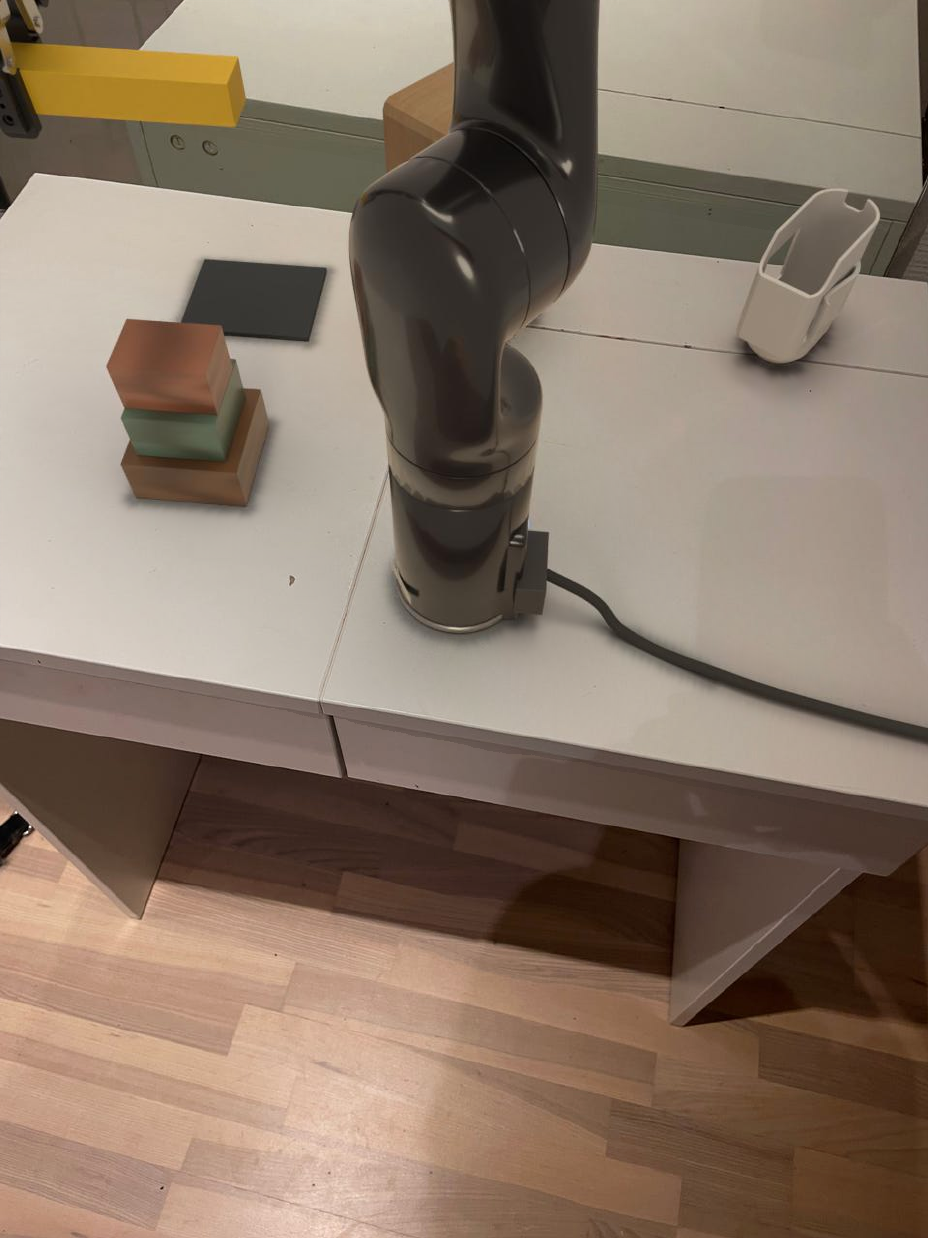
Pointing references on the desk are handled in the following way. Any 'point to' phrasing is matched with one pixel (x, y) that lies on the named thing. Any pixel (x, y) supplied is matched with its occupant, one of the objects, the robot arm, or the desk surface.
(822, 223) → the cable organizer
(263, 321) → the rubber mat
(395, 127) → the wooden block
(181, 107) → the yellow bar
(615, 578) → the desk surface
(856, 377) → the desk surface
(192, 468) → the toy tower
